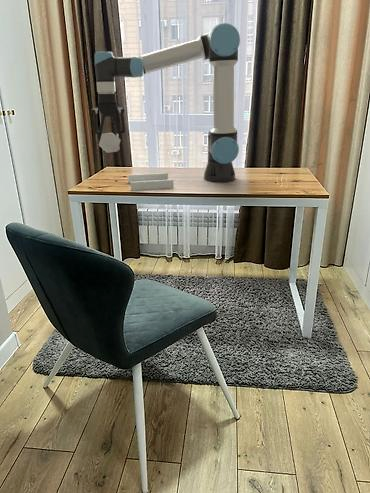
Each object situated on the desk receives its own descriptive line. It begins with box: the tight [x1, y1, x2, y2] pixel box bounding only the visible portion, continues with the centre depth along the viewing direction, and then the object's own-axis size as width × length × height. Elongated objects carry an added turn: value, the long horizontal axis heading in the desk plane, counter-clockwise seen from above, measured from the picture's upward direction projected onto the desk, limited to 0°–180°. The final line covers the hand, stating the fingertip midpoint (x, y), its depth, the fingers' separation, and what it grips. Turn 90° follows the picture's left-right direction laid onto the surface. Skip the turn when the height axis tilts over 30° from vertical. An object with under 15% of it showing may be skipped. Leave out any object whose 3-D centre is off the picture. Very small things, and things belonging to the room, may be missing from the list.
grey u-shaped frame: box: [127, 172, 175, 191], centre depth 184 cm, size 19×15×4 cm
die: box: [98, 132, 122, 154], centre depth 170 cm, size 8×9×10 cm
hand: (111, 149), depth 175 cm, fingers closed on die, 6 cm apart
